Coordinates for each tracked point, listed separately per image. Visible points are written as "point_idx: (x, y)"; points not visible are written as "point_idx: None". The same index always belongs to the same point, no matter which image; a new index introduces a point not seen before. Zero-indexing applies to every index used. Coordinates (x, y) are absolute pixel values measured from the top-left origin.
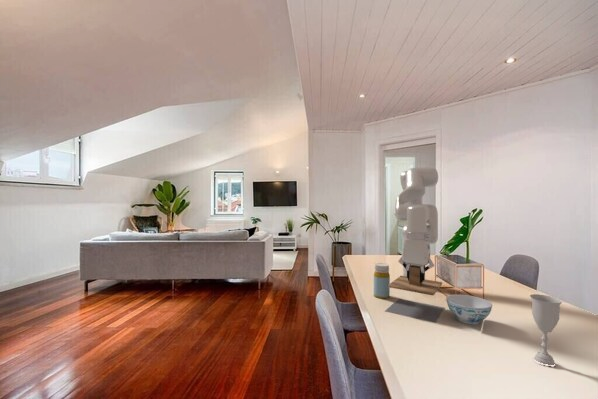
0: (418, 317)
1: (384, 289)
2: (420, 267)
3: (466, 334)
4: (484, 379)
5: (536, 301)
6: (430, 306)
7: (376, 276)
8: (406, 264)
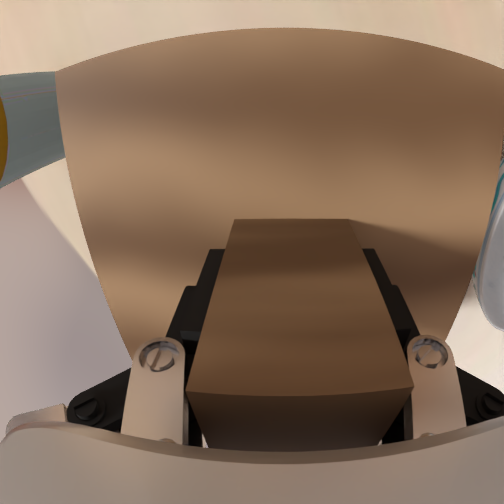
0: None
1: (56, 153)
2: (375, 442)
3: (470, 320)
4: None
5: None
6: None
7: None
8: (116, 422)
